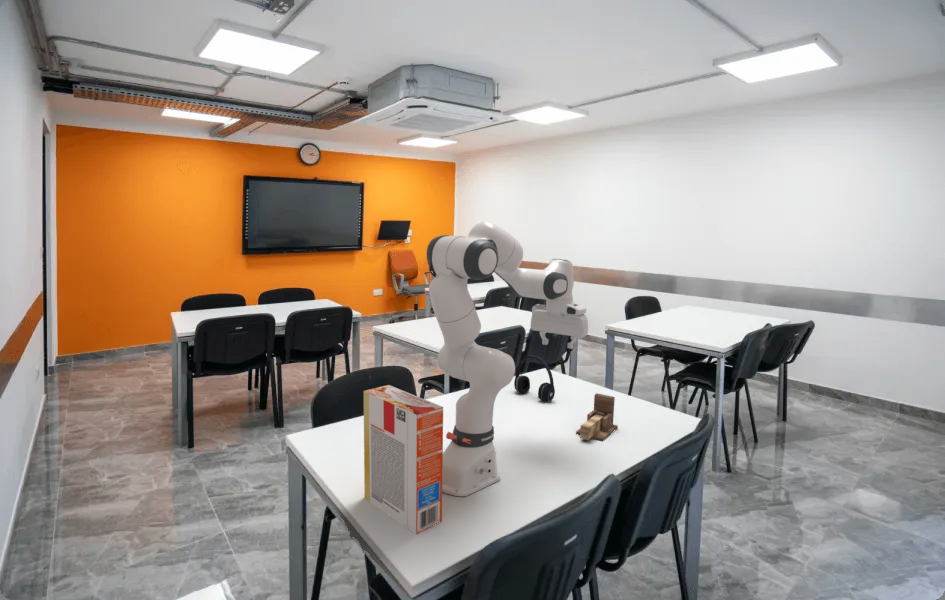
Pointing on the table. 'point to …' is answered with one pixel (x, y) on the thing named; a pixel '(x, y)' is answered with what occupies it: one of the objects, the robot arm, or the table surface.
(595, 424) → the bed rail
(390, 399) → the pasta box
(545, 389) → the headphones
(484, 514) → the table surface
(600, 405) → the wooden chair
